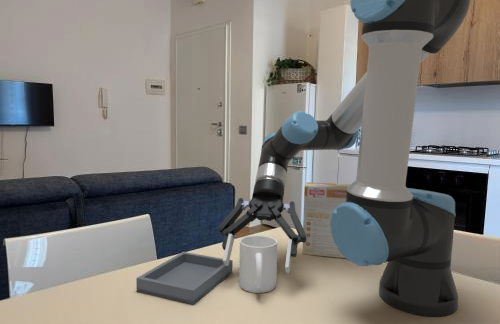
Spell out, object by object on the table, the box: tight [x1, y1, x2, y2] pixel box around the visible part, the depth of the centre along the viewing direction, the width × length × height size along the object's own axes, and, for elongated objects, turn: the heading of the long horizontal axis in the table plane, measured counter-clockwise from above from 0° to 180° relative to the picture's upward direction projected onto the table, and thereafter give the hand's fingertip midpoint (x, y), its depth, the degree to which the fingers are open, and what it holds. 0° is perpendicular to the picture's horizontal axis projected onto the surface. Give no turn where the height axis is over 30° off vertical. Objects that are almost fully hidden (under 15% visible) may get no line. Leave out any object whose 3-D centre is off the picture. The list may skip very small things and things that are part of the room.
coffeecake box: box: [302, 182, 352, 259], centre depth 105 cm, size 15×7×20 cm, turn 76°
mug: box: [238, 235, 278, 294], centre depth 82 cm, size 12×8×10 cm
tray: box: [135, 251, 234, 306], centre depth 85 cm, size 14×18×3 cm
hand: (255, 266), depth 81 cm, fingers open, 13 cm apart
